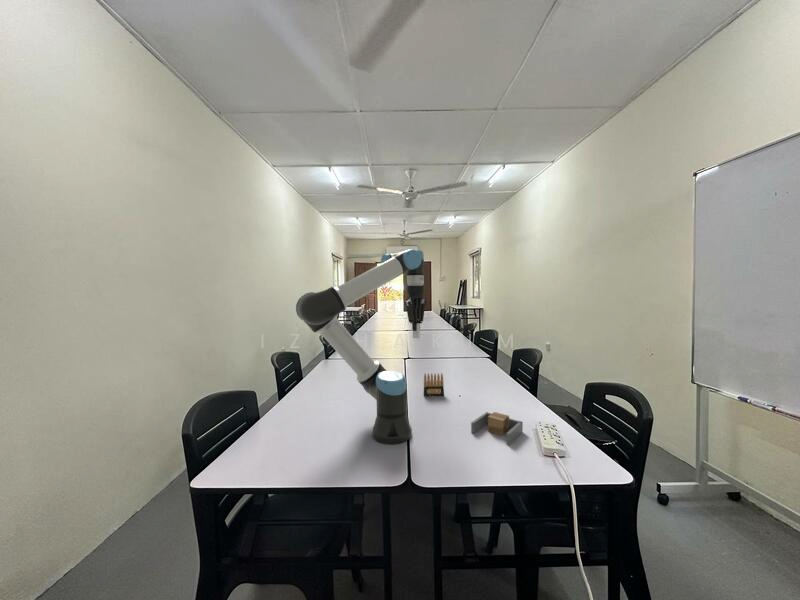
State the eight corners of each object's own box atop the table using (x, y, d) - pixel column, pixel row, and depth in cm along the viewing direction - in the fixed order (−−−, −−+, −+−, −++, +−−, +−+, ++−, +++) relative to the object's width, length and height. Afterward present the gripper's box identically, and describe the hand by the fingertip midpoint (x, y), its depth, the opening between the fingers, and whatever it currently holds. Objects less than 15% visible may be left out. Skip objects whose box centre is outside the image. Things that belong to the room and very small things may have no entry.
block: (502, 436, 115) (502, 420, 115) (487, 431, 119) (487, 416, 119) (509, 430, 120) (509, 415, 119) (494, 426, 124) (494, 411, 123)
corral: (509, 445, 108) (509, 434, 108) (471, 432, 118) (471, 422, 118) (522, 432, 118) (522, 421, 118) (486, 421, 128) (486, 412, 128)
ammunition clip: (423, 396, 160) (423, 373, 159) (423, 395, 161) (423, 372, 161) (444, 396, 160) (443, 373, 159) (443, 394, 161) (443, 372, 161)
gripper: (412, 285, 128) (413, 340, 129) (431, 285, 138) (431, 336, 139) (399, 285, 133) (400, 339, 134) (418, 285, 143) (418, 335, 144)
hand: (416, 337), depth 136 cm, fingers closed
